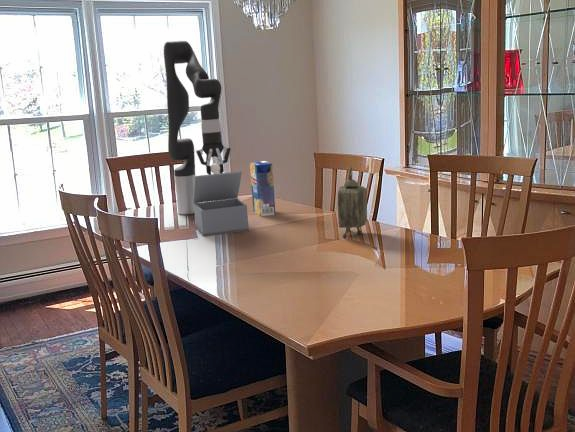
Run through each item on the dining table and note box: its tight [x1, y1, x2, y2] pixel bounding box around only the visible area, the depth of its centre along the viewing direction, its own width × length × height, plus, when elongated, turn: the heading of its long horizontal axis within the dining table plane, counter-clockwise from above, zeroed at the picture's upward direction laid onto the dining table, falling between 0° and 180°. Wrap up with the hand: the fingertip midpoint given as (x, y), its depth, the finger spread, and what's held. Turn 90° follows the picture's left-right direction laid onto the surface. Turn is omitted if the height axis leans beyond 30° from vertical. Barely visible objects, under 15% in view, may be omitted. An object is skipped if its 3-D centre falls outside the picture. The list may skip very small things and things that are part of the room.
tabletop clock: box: [337, 166, 368, 239], centre depth 235 cm, size 14×9×25 cm, turn 168°
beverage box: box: [249, 160, 276, 217], centre depth 281 cm, size 7×11×22 cm, turn 18°
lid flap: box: [193, 163, 242, 203], centre depth 260 cm, size 16×18×8 cm
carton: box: [194, 198, 250, 237], centre depth 258 cm, size 16×18×10 cm
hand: (215, 174), depth 258 cm, fingers closed on lid flap, 4 cm apart
